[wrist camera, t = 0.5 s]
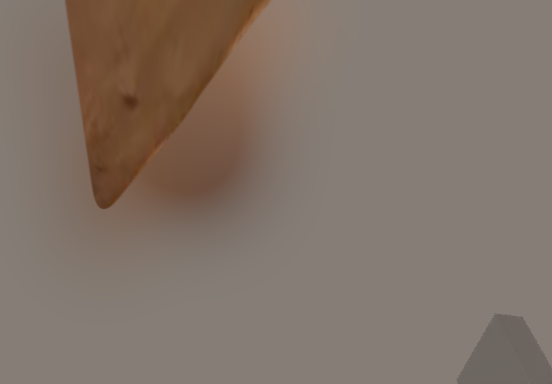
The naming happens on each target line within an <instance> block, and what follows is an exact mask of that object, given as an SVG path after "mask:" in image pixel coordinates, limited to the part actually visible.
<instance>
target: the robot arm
mask: <svg viewBox="0 0 552 384" xmlns="http://www.w3.org/2000/svg"><path fill="white" fill-rule="evenodd" d="M457 382H458V384H552V368H551V366H550V364H549V362H548V360H547V359H546V357H545V355H544V353H543V352H542V350H541V348H540V346H539V345H538V343H537V341H536V340H535V338H534V336H533V334H532V333H531V331H530V329H529V327H528V326H527V324H526V322H525V320H524V319H523V317H518V316H510V315H502V314H495V315H494V316H493V318H492V320H491V321H490V323H489V325H488V327H487V328H486V330H485V332H484V334H483V335H482V337H481V339H480V341H479V342H478V344H477V346H476V347H475V349H474V351H473V352H472V354H471V356H470V358H469V359H468V361H467V363H466V365H465V366H464V368H463V370H462V371H461V373H460V375H459V377H458V378H457Z"/></svg>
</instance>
